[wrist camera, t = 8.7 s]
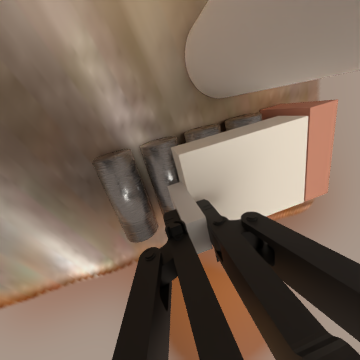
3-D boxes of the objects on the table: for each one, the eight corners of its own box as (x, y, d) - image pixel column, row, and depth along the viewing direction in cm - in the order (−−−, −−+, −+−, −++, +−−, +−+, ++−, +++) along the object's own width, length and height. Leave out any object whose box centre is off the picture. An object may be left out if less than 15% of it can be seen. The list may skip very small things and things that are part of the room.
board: (190, 221, 20) (200, 240, 17) (170, 147, 17) (178, 155, 14) (279, 189, 22) (303, 202, 19) (278, 115, 18) (308, 115, 15)
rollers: (127, 226, 23) (126, 247, 20) (96, 156, 19) (87, 166, 16) (253, 183, 26) (272, 194, 22) (247, 113, 22) (270, 113, 18)
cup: (171, 73, 18) (306, -90, 4) (208, -13, 17) (732, -956, 2) (231, 111, 21) (438, 102, 7) (267, 41, 19) (663, -184, 5)
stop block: (263, 180, 26) (305, 201, 19) (259, 110, 22) (310, 107, 16) (281, 174, 26) (327, 192, 20) (280, 104, 22) (338, 99, 16)
